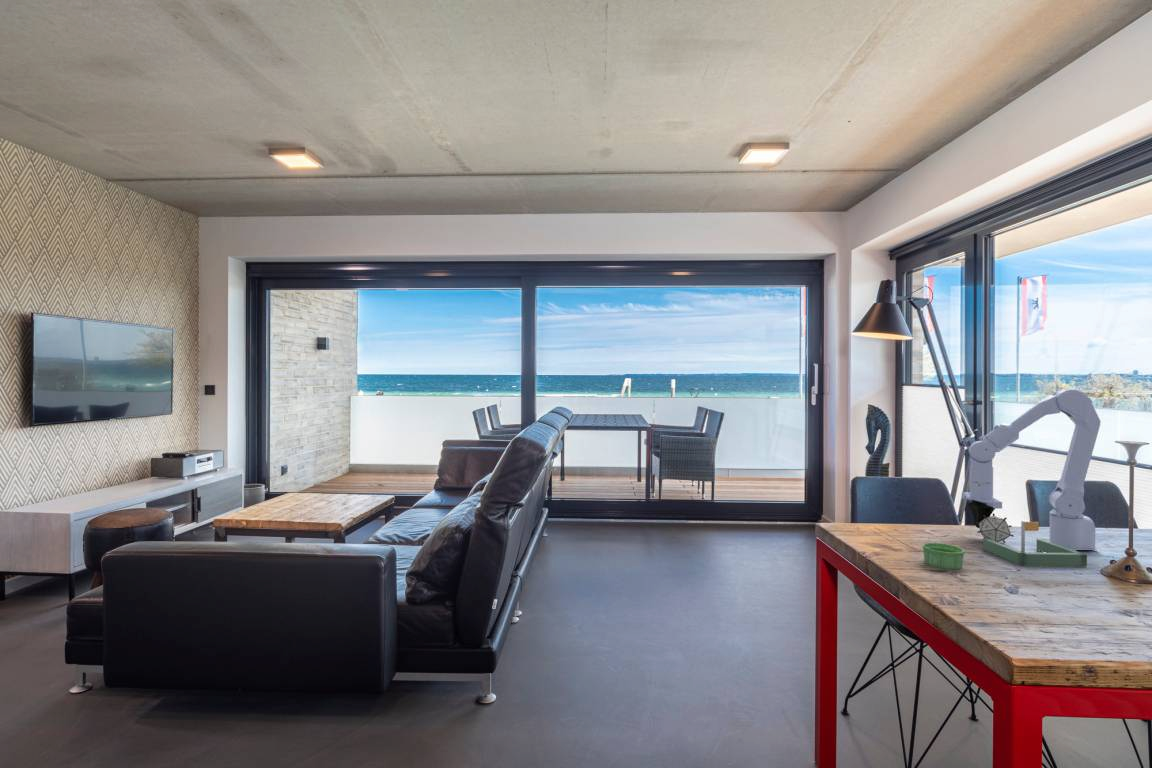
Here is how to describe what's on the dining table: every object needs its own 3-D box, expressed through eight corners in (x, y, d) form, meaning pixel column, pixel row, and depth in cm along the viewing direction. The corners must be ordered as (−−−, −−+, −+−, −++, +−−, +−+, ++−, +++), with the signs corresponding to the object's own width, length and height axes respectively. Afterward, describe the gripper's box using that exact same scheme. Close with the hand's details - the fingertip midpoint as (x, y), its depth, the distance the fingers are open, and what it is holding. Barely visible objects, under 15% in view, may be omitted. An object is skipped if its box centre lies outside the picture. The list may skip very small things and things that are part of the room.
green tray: (1042, 550, 157) (1042, 510, 157) (1086, 566, 143) (1087, 522, 143) (983, 549, 158) (983, 509, 158) (1022, 566, 144) (1022, 522, 144)
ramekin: (971, 571, 140) (971, 553, 140) (930, 569, 141) (930, 551, 141) (954, 560, 148) (955, 543, 148) (916, 558, 150) (916, 541, 150)
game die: (1003, 557, 163) (1028, 534, 158) (974, 546, 163) (999, 523, 158) (990, 534, 171) (1014, 512, 165) (963, 524, 171) (986, 501, 166)
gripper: (952, 477, 177) (951, 521, 177) (984, 486, 163) (984, 534, 163) (975, 477, 177) (974, 521, 177) (1009, 486, 163) (1009, 534, 163)
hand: (981, 527), depth 170 cm, fingers closed
